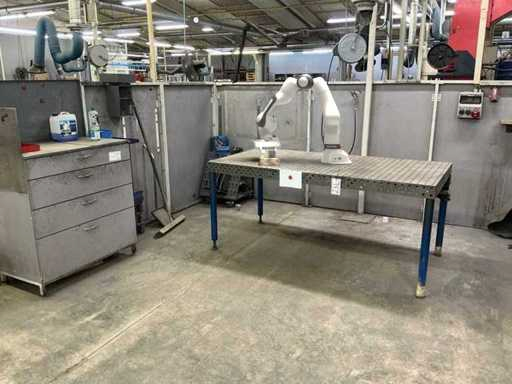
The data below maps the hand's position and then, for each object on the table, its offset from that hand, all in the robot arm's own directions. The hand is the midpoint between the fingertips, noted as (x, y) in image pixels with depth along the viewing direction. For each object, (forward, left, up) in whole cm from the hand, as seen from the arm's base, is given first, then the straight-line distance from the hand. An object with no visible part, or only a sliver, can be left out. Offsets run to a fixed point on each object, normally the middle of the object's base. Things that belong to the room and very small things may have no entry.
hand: (269, 153), depth 297 cm
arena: (-1, +9, -7) cm, 11 cm away
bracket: (-3, +8, -6) cm, 11 cm away
